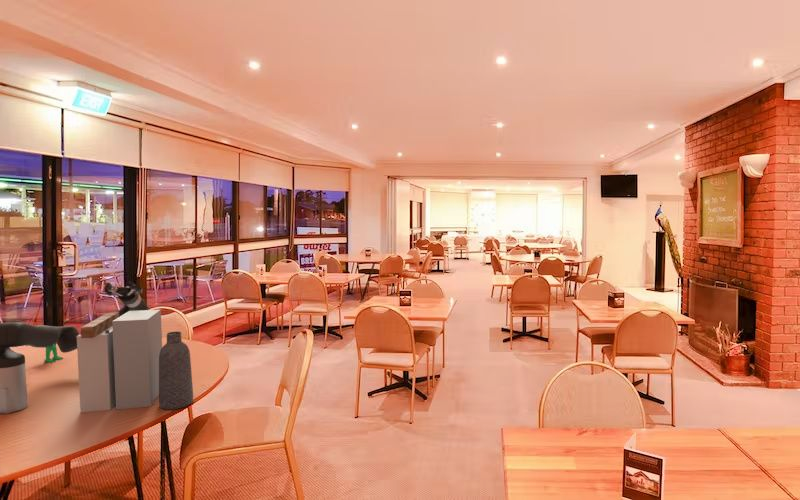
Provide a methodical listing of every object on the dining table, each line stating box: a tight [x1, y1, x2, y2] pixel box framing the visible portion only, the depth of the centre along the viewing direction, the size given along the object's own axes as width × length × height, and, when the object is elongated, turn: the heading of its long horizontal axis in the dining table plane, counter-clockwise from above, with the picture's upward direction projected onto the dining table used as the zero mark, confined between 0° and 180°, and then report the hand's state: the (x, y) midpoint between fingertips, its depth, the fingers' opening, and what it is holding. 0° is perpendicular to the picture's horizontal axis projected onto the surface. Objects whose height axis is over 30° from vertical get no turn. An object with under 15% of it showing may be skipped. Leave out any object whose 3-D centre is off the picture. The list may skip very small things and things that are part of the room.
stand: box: [76, 309, 163, 413], centre depth 187 cm, size 20×24×34 cm
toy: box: [24, 343, 64, 363], centre depth 240 cm, size 26×6×15 cm, turn 168°
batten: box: [80, 311, 119, 338], centre depth 185 cm, size 28×4×4 cm, turn 14°
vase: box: [158, 331, 194, 411], centre depth 183 cm, size 12×12×28 cm
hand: (118, 284), depth 205 cm, fingers open, 8 cm apart
